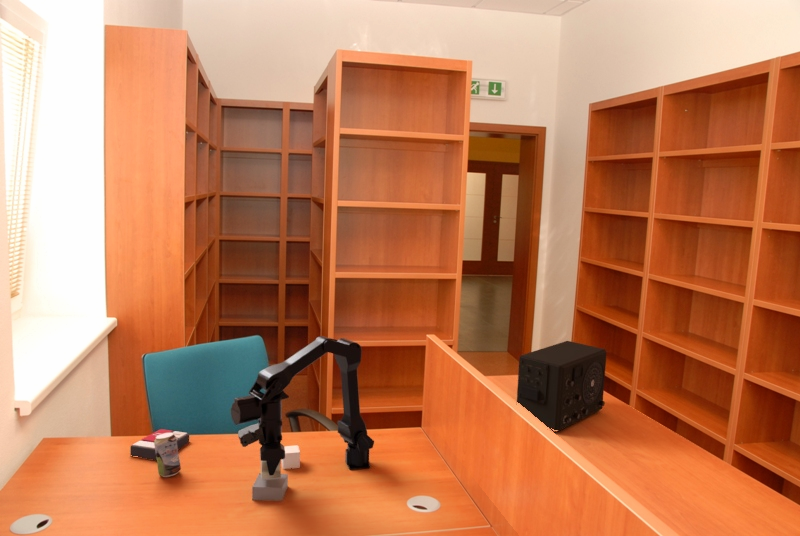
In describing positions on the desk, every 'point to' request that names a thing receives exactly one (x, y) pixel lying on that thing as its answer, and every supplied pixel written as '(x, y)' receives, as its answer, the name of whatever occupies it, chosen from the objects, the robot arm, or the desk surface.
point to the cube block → (266, 474)
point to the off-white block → (291, 457)
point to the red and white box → (147, 446)
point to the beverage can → (167, 454)
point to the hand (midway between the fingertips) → (270, 470)
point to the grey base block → (270, 488)
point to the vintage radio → (562, 383)
